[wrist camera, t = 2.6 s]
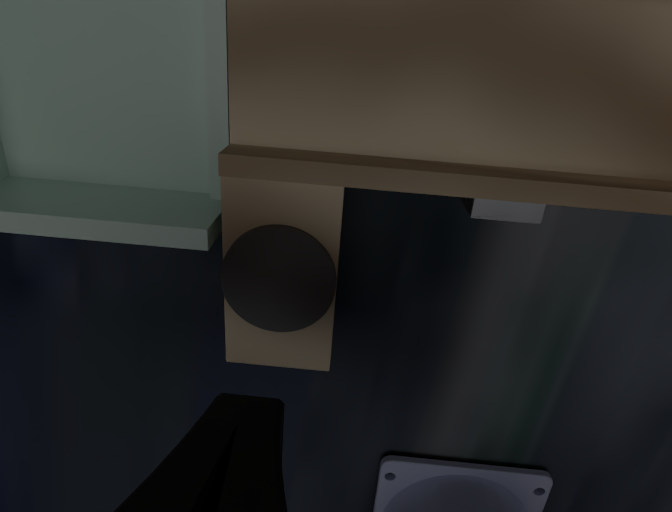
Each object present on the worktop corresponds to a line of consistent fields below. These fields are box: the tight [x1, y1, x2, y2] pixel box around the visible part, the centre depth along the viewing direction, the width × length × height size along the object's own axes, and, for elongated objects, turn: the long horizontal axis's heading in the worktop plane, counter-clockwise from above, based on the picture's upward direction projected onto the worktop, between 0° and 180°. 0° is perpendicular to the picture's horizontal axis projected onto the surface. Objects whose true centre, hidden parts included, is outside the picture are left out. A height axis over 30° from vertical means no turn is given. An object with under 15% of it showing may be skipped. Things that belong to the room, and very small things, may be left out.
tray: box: [0, 0, 230, 251], centre depth 14 cm, size 11×9×4 cm
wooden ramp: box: [218, 0, 672, 371], centre depth 15 cm, size 13×16×5 cm
